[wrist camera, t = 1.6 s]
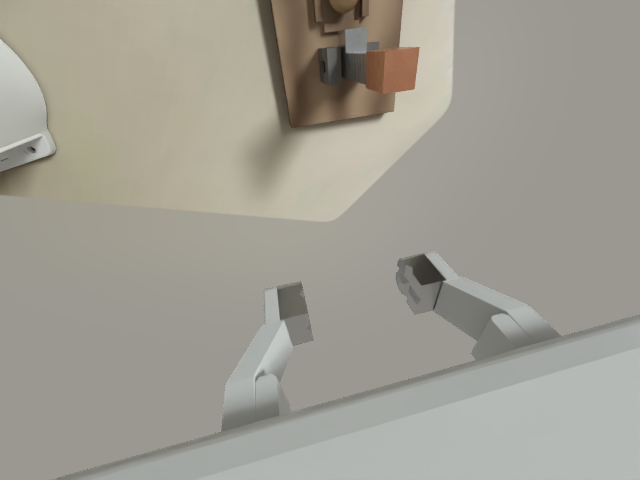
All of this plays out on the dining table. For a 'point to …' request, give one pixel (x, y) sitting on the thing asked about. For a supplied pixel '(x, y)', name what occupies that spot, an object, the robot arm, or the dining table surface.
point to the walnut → (343, 5)
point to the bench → (324, 32)
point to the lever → (377, 63)
